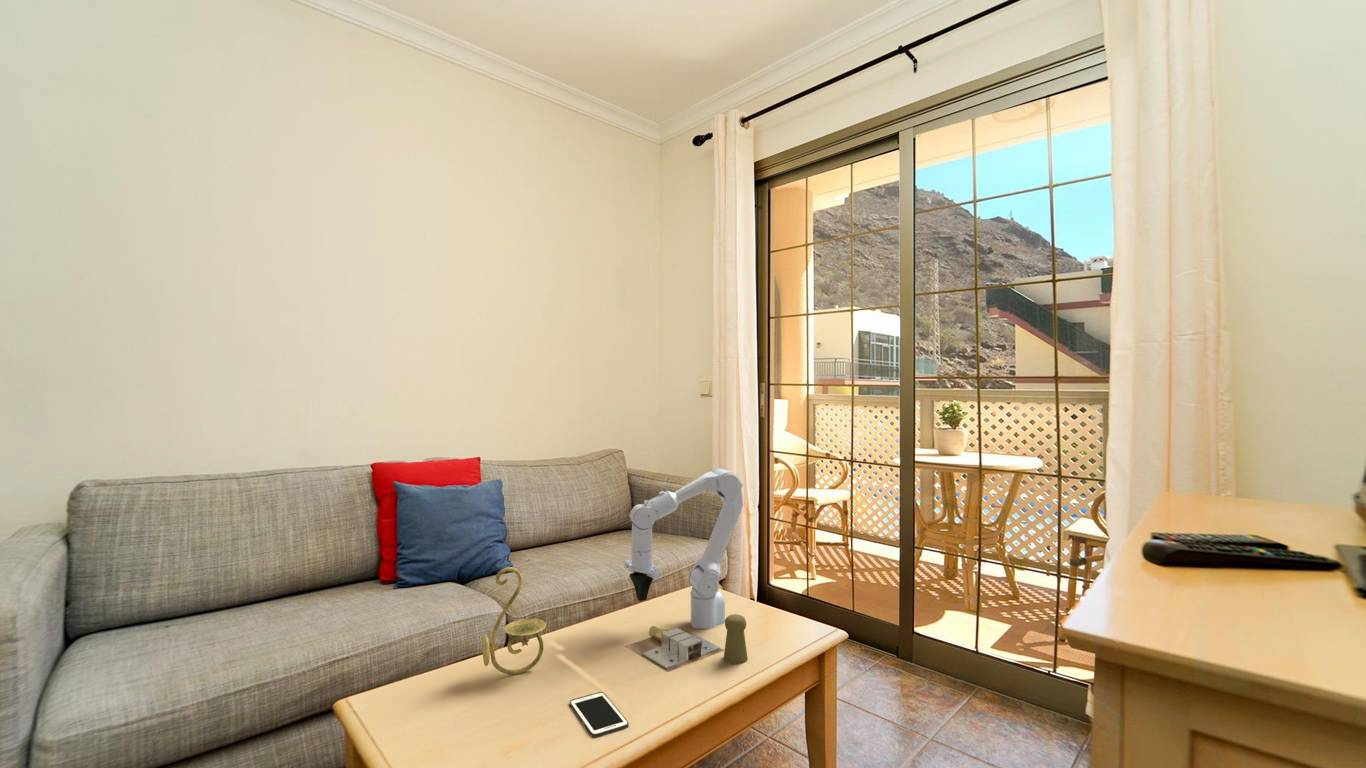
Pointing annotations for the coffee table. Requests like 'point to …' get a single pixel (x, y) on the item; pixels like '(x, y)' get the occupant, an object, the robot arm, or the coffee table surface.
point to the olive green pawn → (735, 640)
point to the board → (653, 643)
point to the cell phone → (598, 714)
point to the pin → (656, 633)
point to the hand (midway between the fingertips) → (642, 599)
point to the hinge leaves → (679, 648)
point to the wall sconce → (513, 631)
